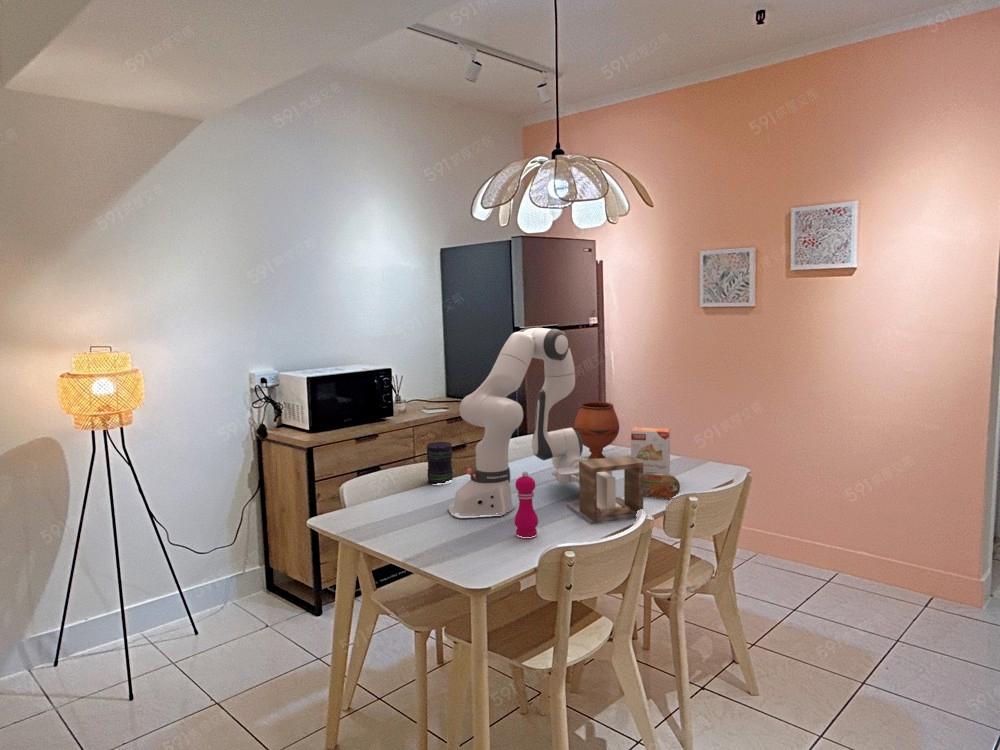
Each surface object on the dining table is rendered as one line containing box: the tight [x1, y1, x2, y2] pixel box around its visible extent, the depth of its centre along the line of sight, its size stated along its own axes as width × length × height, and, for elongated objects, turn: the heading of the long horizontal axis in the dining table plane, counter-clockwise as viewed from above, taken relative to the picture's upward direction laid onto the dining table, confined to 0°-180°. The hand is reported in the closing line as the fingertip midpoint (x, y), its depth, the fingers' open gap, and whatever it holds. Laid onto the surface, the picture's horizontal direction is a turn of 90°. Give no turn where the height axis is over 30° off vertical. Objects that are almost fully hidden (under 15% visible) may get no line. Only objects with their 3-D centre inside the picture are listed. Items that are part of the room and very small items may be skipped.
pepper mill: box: [513, 470, 539, 537], centre depth 207 cm, size 7×7×20 cm
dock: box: [566, 455, 644, 525], centre depth 227 cm, size 20×19×18 cm
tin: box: [643, 473, 681, 500], centre depth 241 cm, size 15×3×8 cm, turn 62°
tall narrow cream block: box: [597, 472, 622, 511], centre depth 227 cm, size 8×9×12 cm
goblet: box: [573, 400, 620, 459], centre depth 289 cm, size 19×19×25 cm
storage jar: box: [426, 441, 454, 486], centre depth 266 cm, size 10×10×15 cm
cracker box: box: [630, 426, 671, 475], centre depth 257 cm, size 14×6×21 cm, turn 71°
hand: (592, 479), depth 236 cm, fingers open, 8 cm apart
